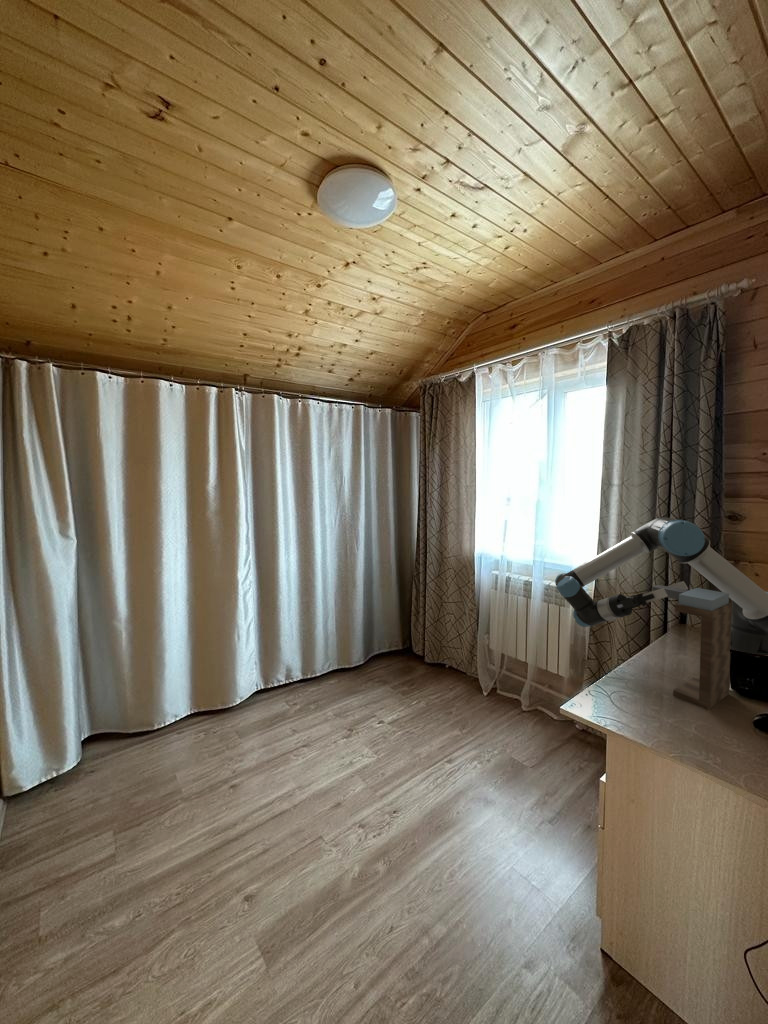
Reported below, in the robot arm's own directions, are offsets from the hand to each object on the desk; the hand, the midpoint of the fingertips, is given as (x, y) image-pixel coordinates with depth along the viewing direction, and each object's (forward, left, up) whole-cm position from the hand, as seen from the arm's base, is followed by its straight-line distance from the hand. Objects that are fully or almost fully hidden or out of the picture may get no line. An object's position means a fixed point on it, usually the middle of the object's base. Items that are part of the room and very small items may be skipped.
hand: (675, 588), depth 124 cm
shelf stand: (0, +7, -31) cm, 32 cm away
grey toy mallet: (0, +3, -3) cm, 4 cm away
